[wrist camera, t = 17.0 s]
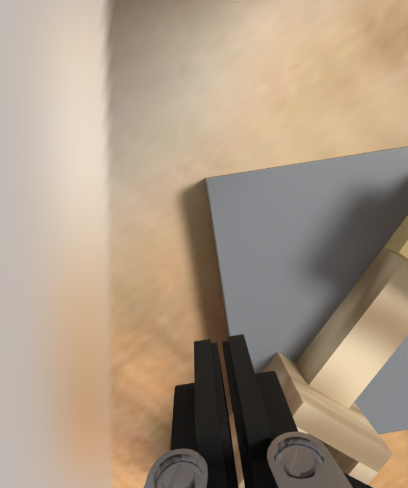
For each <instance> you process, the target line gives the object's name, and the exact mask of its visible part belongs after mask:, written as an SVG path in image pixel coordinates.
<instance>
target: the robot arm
mask: <svg viewBox="0 0 408 488" xmlns="http://www.w3.org/2000/svg"><path fill="white" fill-rule="evenodd" d="M222 344H223V351H224V357H225V364H226V370H227V377H228V383H229V390H230V396H231V403H232V409H233V416H234V422H235V428H236V435H237V441H238V447H239V454H240V460H241V466H242V472H243V479H244V485H245V488H372V487H370V486H369V485H367V484H365V483H363V482H361V481H359V480H357V479H355V478H353V477H352V476H350V475H348V474H346V473H344V472H342V470H341V469H340V467H339V466H338V464H337V462H336V461H335V459H334V458H333V456H332V455H331V453H330V452H329V450H328V449H327V447H326V446H325V445H324V444H323V443H322V442H321V441H320V440H319V439H317V438H316V437H314V436H312V435H309V434H307V433H303V432H298V429H297V426H296V424H295V421H294V419H293V416H292V413H291V411H290V408H289V406H288V403H287V400H286V398H285V395H284V392H283V390H282V387H281V385H280V382H279V379H278V377H277V374H276V372H275V371H268V372H262V373H255V372H254V368H253V365H252V361H251V358H250V354H249V351H248V347H247V344H246V341H245V337H244V334H241V335H234V336H228V341H224V342H222ZM194 370H195V383H190V384H183V385H177V386H175V393H174V407H173V422H172V436H171V450H170V452H168V453H166V454H164V455H163V456H161V457H160V458H159V459H157V461H156V462H155V463H154V464H153V466H152V467H151V469H150V471H149V473H148V476H147V479H146V483H145V486H144V488H239V486H238V479H237V472H236V465H235V458H234V451H233V444H232V436H231V429H230V422H229V415H228V409H227V403H226V396H225V390H224V384H223V377H222V371H221V365H220V358H219V352H218V346H217V343H211V341H210V339H208V340H201V341H195V342H194Z"/></svg>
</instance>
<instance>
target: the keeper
mask: <svg viewBox="0 0 408 488" xmlns="http://www.w3.org/2000/svg"><path fill="white" fill-rule="evenodd" d="M385 248H386V249H388V250H390V251H391V252H393V253H394V254H396V255H397V256H399V257H400V258H402V259H404V260H405V261H407V262H408V215H407V217H406V218H405V219H404V221H403V222H402V224H401V225H400V226H399V228H398V229H397V231H396V232H395V234H394V235H393V236H392V238H391V239H390V241H389V242H388V243H387V245H386V246H385Z"/></svg>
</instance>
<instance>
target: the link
mask: <svg viewBox="0 0 408 488" xmlns="http://www.w3.org/2000/svg"><path fill="white" fill-rule="evenodd" d="M396 231H397V230H396ZM396 231H395V232H396ZM394 234H395V233H394ZM394 234H393V235H394ZM393 235H392V236H393ZM391 238H392V237H391ZM391 238H390V239H391ZM390 239H389V241H390ZM389 241H388V242H389ZM388 242H387V243H388ZM387 243H386V245H387ZM386 245H385V246H386ZM385 246H384V247H383V249H382V250H381V251H380V253H379V254H378V255H377V257H376V258H375V259H374V261H373V262H372V263H371V265H370V266H369V267H368V268H367V270H366V271H365V272H364V274H363V275H362V276H361V278H360V279H359V280H358V282H357V283H356V284H355V286H354V287H353V288H352V290H351V291H350V292H349V294H348V295H347V296H346V298H345V299H344V300H343V302H342V303H341V304H340V305H339V307H338V308H337V309H336V311H335V312H334V313H333V315H332V316H331V317H330V319H329V320H328V321H327V323H326V324H325V325H324V327H323V328H322V329H321V331H320V332H319V333H318V335H317V336H316V337H315V339H314V340H313V341H312V342H311V344H310V345H309V346H308V348H307V349H306V350H305V352H304V353H303V354H302V356H301V357H300V358H299V360H298V361H297V362H296V363H295V362H293V361H292V360H290V359H288V358H287V357H285V356H283V355H282V354H280V353H278V352H277V353H276V355H275V356H274V357H273V359H272V360H271V361H270V363H269V364H268V365H267V367H266V368H265V369H264V371H263V372H268V371H275V372H276V374H277V377H278V379H279V382H280V385H281V387H282V390H283V392H284V395H285V398H286V400H287V403H288V406H289V408H290V411H291V413H292V416H293V419H294V421H295V424H296V426H297V429H298V432H303V433H307V434H308V433H309V434H310V435H312V436H314V437H316V438H317V439H319V440H320V441H321V442H322V443H323V444H324V445H325V446H326V447H327V449H328V450H329V452H330V453H331V455H332V456H333V458H334V459H335V461H336V462H337V464H338V466H339V467H340V469H341V470H342V472H344V473H346V474H348V475H350V476H352V477H353V478H355V479H357V480H359V481H361V482H363V483H365V484H367V485H368V484H369V482H370V481H371V480H372V479H373V478H374V477H375V475H376V474H377V473H378V472H379V471H380V470H381V468H382V467H383V466H384V465H385V464H386V462H387V461H388V460H389V459H390V458H391V457H392V455H393V454H392V452H391V451H390V450H389V448H388V447H387V446H386V444H385V443H384V442H383V440H382V439H381V438H380V436H379V435H378V433H377V432H376V431H375V429H374V428H373V427H372V425H371V424H370V423H369V421H368V420H367V419H366V417H365V416H364V415H363V413H362V412H361V410H360V409H359V408H358V406H357V405H356V404H355V402H354V401H355V400H356V399H357V398H358V396H359V395H360V394H361V393H362V391H363V390H364V389H365V388H366V386H367V385H368V384H369V383H370V381H371V380H372V379H373V378H374V376H375V375H376V374H377V373H378V371H379V370H380V369H381V368H382V366H383V365H384V364H385V363H386V362H387V360H388V359H389V358H390V357H391V355H392V354H393V353H394V352H395V350H396V349H397V348H398V347H399V345H400V344H401V343H402V342H403V340H404V339H405V338H406V337H407V335H408V262H407V261H405V260H404V259H402V258H400V257H399V256H397V255H396V254H394V253H393V252H391V251H390V250H388V249H386V248H385ZM229 422H230V429H231V436H232V444H233V451H234V458H235V465H236V472H237V479H238V486H239V488H245V485H244V479H243V472H242V466H241V460H240V454H239V447H238V441H237V435H236V428H235V422H234V416H233V412H232V414H231V415H230V416H229Z"/></svg>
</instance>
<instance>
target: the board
mask: <svg viewBox="0 0 408 488" xmlns="http://www.w3.org/2000/svg"><path fill="white" fill-rule="evenodd" d="M205 182H206V189H207V195H208V202H209V209H210V215H211V222H212V229H213V235H214V242H215V249H216V255H217V262H218V269H219V275H220V282H221V289H222V295H223V302H224V309H225V315H226V322H227V329H228V335H229V336H234V335H241V334H244V337H245V341H246V344H247V347H248V351H249V354H250V358H251V361H252V365H253V368H254V372H255V373H262V372H263V371H264V369H265V368H266V367H267V365H268V364H269V363H270V361H271V360H272V359H273V357H274V356H275V355H276V353H277V352H278V353H280V354H282V355H283V356H285V357H287V358H288V359H290V360H292V361H293V362H295V363H296V362H297V361H298V360H299V358H300V357H301V356H302V354H303V353H304V352H305V350H306V349H307V348H308V346H309V345H310V344H311V342H312V341H313V340H314V339H315V337H316V336H317V335H318V333H319V332H320V331H321V329H322V328H323V327H324V325H325V324H326V323H327V321H328V320H329V319H330V317H331V316H332V315H333V313H334V312H335V311H336V309H337V308H338V307H339V305H340V304H341V303H342V302H343V300H344V299H345V298H346V296H347V295H348V294H349V292H350V291H351V290H352V288H353V287H354V286H355V284H356V283H357V282H358V280H359V279H360V278H361V276H362V275H363V274H364V272H365V271H366V270H367V268H368V267H369V266H370V265H371V263H372V262H373V261H374V259H375V258H376V257H377V255H378V254H379V253H380V251H381V250H382V249H383V247H384V246H385V245H386V243H387V242H388V241H389V239H390V238H391V237H392V235H393V234H394V233H395V231H396V230H397V229H398V228H399V226H400V225H401V224H402V222H403V221H404V219H405V218H406V217H407V215H408V146H407V147H401V148H394V149H388V150H381V151H375V152H369V153H362V154H356V155H350V156H343V157H337V158H331V159H324V160H318V161H311V162H305V163H299V164H292V165H286V166H280V167H273V168H267V169H260V170H254V171H248V172H241V173H235V174H229V175H222V176H216V177H209V178H205ZM354 402H355V404H356V405H357V406H358V408H359V409H360V410H361V412H362V413H363V415H364V416H365V417H366V419H367V420H368V421H369V423H370V424H371V425H372V427H373V428H374V429H375V431H376V432H377V433H378V434H384V433H389V432H395V431H401V430H407V429H408V335H407V337H406V338H405V339H404V340H403V342H402V343H401V344H400V345H399V347H398V348H397V349H396V350H395V352H394V353H393V354H392V355H391V357H390V358H389V359H388V360H387V362H386V363H385V364H384V365H383V366H382V368H381V369H380V370H379V371H378V373H377V374H376V375H375V376H374V378H373V379H372V380H371V381H370V383H369V384H368V385H367V386H366V388H365V389H364V390H363V391H362V393H361V394H360V395H359V396H358V398H357V399H356V400H355V401H354Z"/></svg>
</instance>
